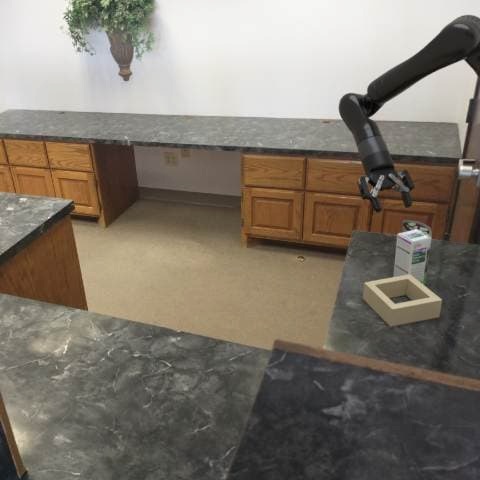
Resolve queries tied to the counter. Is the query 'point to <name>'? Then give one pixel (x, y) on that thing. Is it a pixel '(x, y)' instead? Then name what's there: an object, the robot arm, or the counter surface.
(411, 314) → the frame
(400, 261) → the syrup box
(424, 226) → the food container
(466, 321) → the counter surface
